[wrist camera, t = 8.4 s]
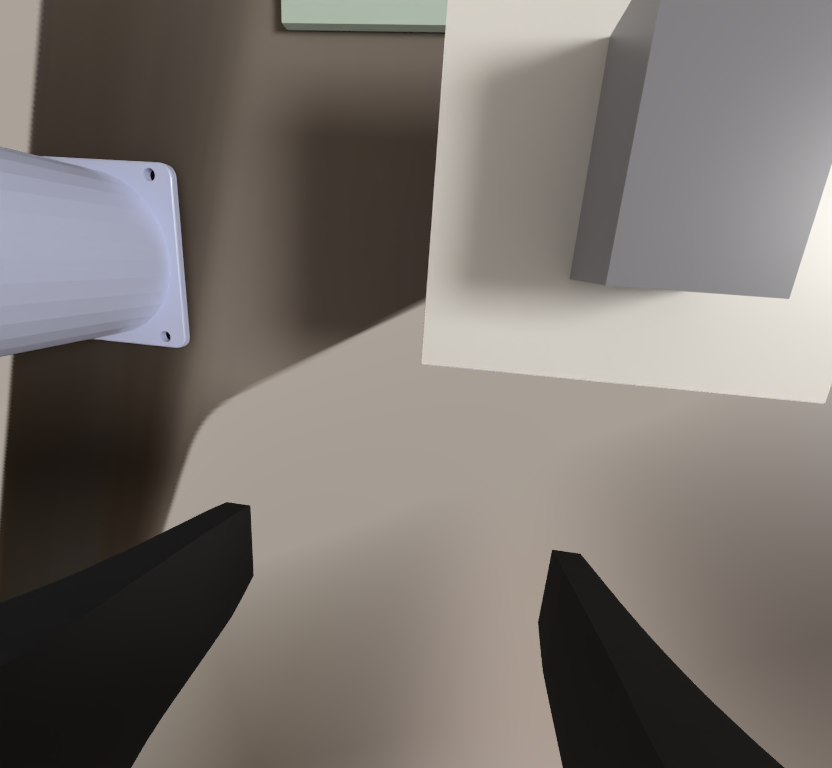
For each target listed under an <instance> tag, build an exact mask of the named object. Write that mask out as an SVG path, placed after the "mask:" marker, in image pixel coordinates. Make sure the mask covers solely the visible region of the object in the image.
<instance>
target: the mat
mask: <svg viewBox="0 0 832 768" xmlns="http://www.w3.org/2000/svg"><path fill="white" fill-rule="evenodd" d="M447 2H448V0H281V15H282V24H283V25H284V27H285V28H286V29H287V30H322V31H389V32H445V30H446V16H447Z"/></svg>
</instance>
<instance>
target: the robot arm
mask: <svg viewBox="0 0 832 768" xmlns="http://www.w3.org/2000/svg"><path fill="white" fill-rule="evenodd" d="M152 170H153V171H154V173H155V178H154V180H153V181H152V180H151V177H150V174H151V172H152ZM166 332H168V333H169V334H170V337H171V338H170V340H169V339H168V338H167V336H166ZM88 339H98V340H107V341H117V342H126V343H136V344H145V345H155V346H165V347H174V348H179V347H184V346H186V345H187V344H188V343H189V339H190V335H189V323H188V311H187V299H186V287H185V275H184V263H183V251H182V239H181V226H180V214H179V202H178V190H177V178H176V174H175V171H174V170H173V168H172V167H170V166H169V165H166V164H163V163H159V162H140V161H121V160H103V159H84V158H65V157H46V156H36V155H32V154H28V153H24V152H20V151H16V150H12V149H8V148H3V147H0V357H1V356H6V355H11V354H16V353H21V352H27V351H32V350H37V349H42V348H47V347H52V346H57V345H62V344H67V343H72V342H77V341H82V340H88ZM252 577H253V555H252V534H251V512H250V506H249V505H242V504H235V503H228V502H226V503H224V504H222V505H220V506H217V507H215V508H212V509H210V510H208V511H206V512H204V513H202V514H200V515H198V516H196V517H194V518H192V519H190V520H188V521H186V522H184V523H182V524H180V525H178V526H175V527H173V528H171V529H170V530H167V531H165V532H163V533H161V534H159V535H157V536H155V537H153V538H151V539H149V540H147V541H145V542H143V543H141V544H139V545H137V546H135V547H133V548H130V549H128V550H126V551H124V552H122V553H120V554H117V555H115V556H113V557H111V558H109V559H106V560H104V561H102V562H100V563H98V564H95V565H93V566H91V567H89V568H87V569H84V570H82V571H80V572H78V573H75V574H73V575H71V576H68V577H66V578H63V579H61V580H59V581H56V582H54V583H51V584H49V585H46V586H44V587H41V588H38V589H36V590H33V591H31V592H28V593H25V594H23V595H20V596H18V597H15V598H12V599H10V600H7V601H4V602H1V603H0V768H131V767H132V765H133V763H134V762H135V760H136V758H137V757H138V755H139V753H140V752H141V750H142V748H143V746H144V745H145V743H146V741H147V739H148V738H149V736H150V735H151V733H152V732H153V730H154V729H155V727H156V726H157V724H158V723H159V721H160V720H161V718H162V717H163V715H164V714H165V712H166V711H167V709H168V708H169V706H170V705H171V703H172V702H173V701H174V699H175V698H176V696H177V695H178V693H179V692H180V691H181V689H182V688H183V686H184V685H185V683H186V682H187V681H188V679H189V677H190V676H191V675H192V673H193V672H194V671H195V669H196V668H197V666H198V665H199V663H200V662H201V660H202V659H203V658H204V656H205V655H206V653H207V652H208V650H209V649H210V648H211V646H212V645H213V643H214V642H215V640H216V639H217V637H218V636H219V634H220V633H221V631H222V630H223V629H224V627H225V626H226V624H227V623H228V621H229V620H230V618H231V617H232V615H233V613H234V611H235V609H236V608H237V606H238V604H239V602H240V600H241V599H242V597H243V595H244V593H245V591H246V589H247V587H248V585H249V583H250V581H251V579H252ZM538 625H539V637H540V648H541V657H542V667H543V674H544V679H545V683H546V689H547V694H548V699H549V704H550V708H551V713H552V718H553V723H554V728H555V732H556V737H557V741H558V747H559V751H560V756H561V761H562V765H563V768H784V767H783V766H782V765H781V764H779V763H778V762H777V761H776V760H775V759H774V758H773V757H771V756H770V755H769V754H768V753H767V752H766V751H765V750H764V749H763V748H761V747H760V746H759V745H758V744H757V743H756V742H755V741H754V740H753V739H751V738H750V737H749V736H748V735H747V734H746V733H745V732H744V731H743V730H742V729H741V728H740V727H739V726H738V725H737V724H735V723H734V722H733V721H732V720H731V719H730V718H729V717H728V716H727V715H726V714H725V713H724V712H723V711H722V710H721V709H720V708H718V707H717V706H716V705H715V704H714V703H713V702H712V701H711V700H710V699H709V698H708V697H707V696H706V695H705V694H704V693H703V692H702V691H701V690H700V689H699V688H698V687H697V686H696V685H695V684H694V683H693V682H692V681H691V680H690V679H689V678H688V677H687V676H686V675H685V674H684V673H683V672H682V670H680V668H679V667H678V666H677V665H676V664H675V663H674V662H673V661H672V660H671V659H670V658H669V657H668V656H667V655H666V654H665V653H664V652H663V650H662V649H661V648H660V647H659V646H658V645H657V644H656V643H655V642H654V641H653V640H652V638H651V637H650V636H649V635H648V634H647V633H646V632H645V631H644V629H642V627H641V626H640V625H639V624H638V623H637V622H636V620H635V619H634V618H633V617H632V616H631V615H630V613H629V612H628V611H627V610H626V609H625V607H624V606H623V605H622V604H621V603H620V602H619V601H618V599H617V598H616V597H615V595H614V594H613V593H612V592H611V591H610V590H609V588H608V587H607V586H606V585H605V584H604V582H603V581H602V580H601V578H600V577H599V576H598V575H597V574H596V572H595V571H594V570H593V569H592V568H591V566H590V565H589V564H588V563H587V561H586V560H585V559H584V558H583V557H582V556H581V554H578V553H570V552H564V551H557V550H552V554H551V559H550V564H549V570H548V574H547V580H546V585H545V590H544V595H543V601H542V605H541V611H540V616H539V621H538Z"/></svg>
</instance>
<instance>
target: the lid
mask: <svg viewBox="0 0 832 768" xmlns="http://www.w3.org/2000/svg"><path fill="white" fill-rule="evenodd" d="M421 364H425V365H435V366H445V367H456V368H466V369H476V370H486V371H496V372H508V373H517V374H527V375H537V376H547V377H559V378H568V379H578V380H588V381H599V382H609V383H619V384H629V385H640V386H650V387H661V388H671V389H681V390H691V391H701V392H711V393H721V394H732V395H742V396H753V397H763V398H773V399H783V400H793V401H804V402H813V403H824V404H825V401H826V399H827V396H828V393H829V391H830V387H831V385H832V0H448V2H447V16H446V30H445V43H444V57H443V71H442V85H441V99H440V112H439V126H438V140H437V154H436V168H435V181H434V195H433V209H432V223H431V237H430V250H429V264H428V278H427V292H426V306H425V320H424V333H423V347H422V361H421Z"/></svg>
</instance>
